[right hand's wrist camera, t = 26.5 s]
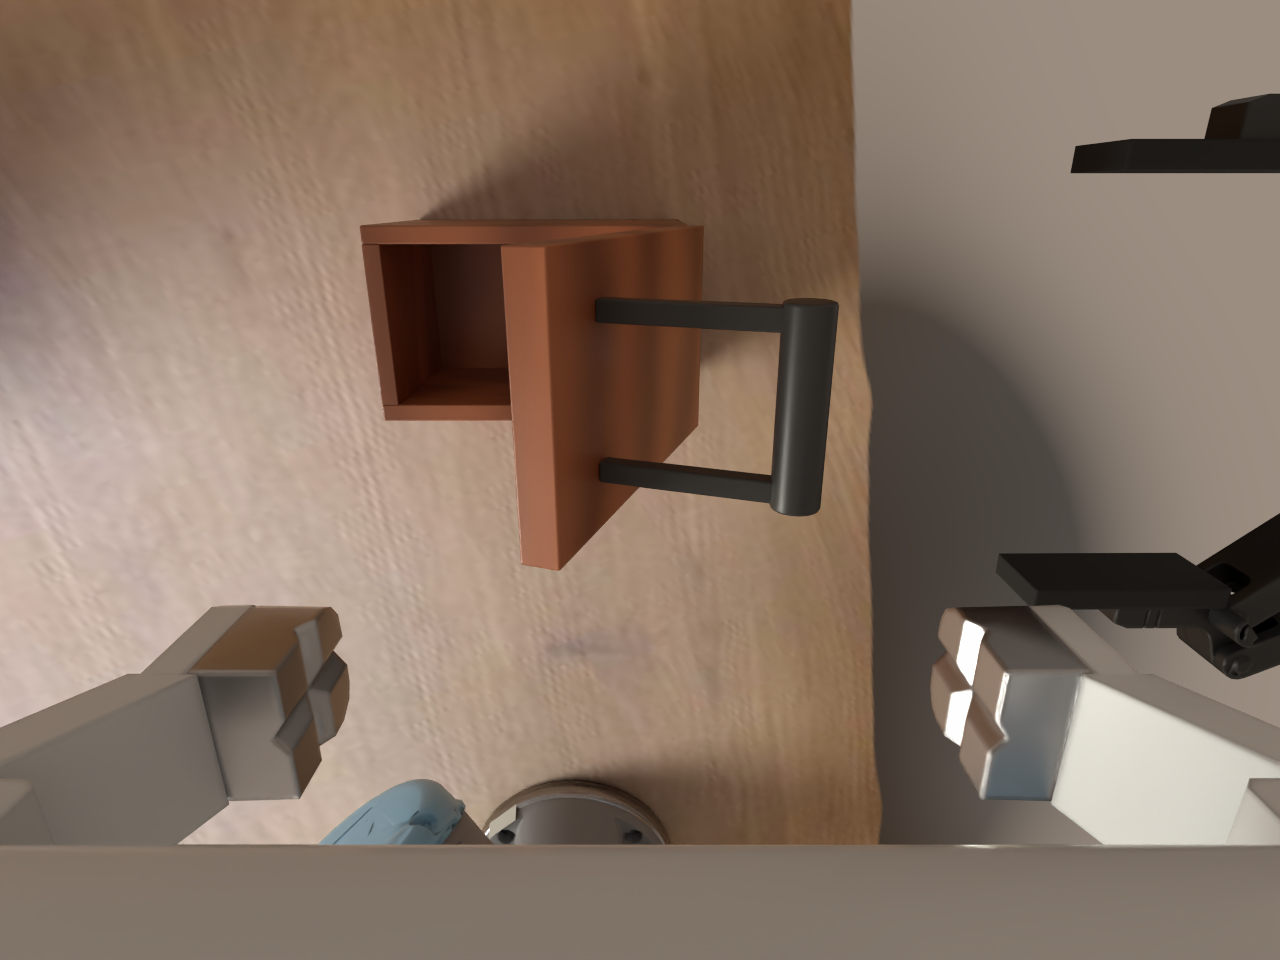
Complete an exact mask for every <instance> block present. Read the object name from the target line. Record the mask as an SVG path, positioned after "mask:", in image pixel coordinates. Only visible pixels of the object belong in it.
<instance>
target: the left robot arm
mask: <svg viewBox="0 0 1280 960" xmlns="http://www.w3.org/2000/svg"><path fill="white" fill-rule="evenodd" d="M1071 173H1280V94H1266V95H1260V96H1254V97H1249V98H1243V99H1237V100H1231V101H1228V102H1226V103H1224V104H1221V105H1219V106H1216V107H1214V108H1212V110H1211V114H1210V118H1209V122H1208V126H1207V130H1206V135H1205V139H1128V140H1120V141H1112V142H1104V143H1097V144H1089V145H1081V146H1076V147H1075V152H1074V158H1073V163H1072V168H1071ZM996 573H997V574H998V575H999V576H1000V577H1001V578H1002V579H1003V580H1004V581H1005V582H1006V583H1007V584H1008V585H1009V586H1010V587H1011V588H1012V589H1013V590H1014V591H1015V592H1016V593H1017V594H1018V595H1019V596H1020V597H1021V598H1022V599H1023V600H1024V601H1025V602H1026V603H1027V604H1028V605H1029V606H1042V605H1061V606H1065V607H1068V608H1070V609H1099V610H1100V611H1101V612H1102V613H1103V614H1104V615H1106V616H1107V617H1108V618H1109V619H1110V620H1111V621H1112V622H1113V623H1115V624H1117V625H1120V626H1123V627H1125V628H1143V627H1144V628H1154V627H1156V628H1177V635H1178V637H1179V638H1180V639H1181V640H1182V641H1183V642H1185V643H1186V644H1187V645H1188V646H1190V647H1191V648H1192V649H1193V650H1194V651H1196V652H1197V653H1198V654H1199V655H1201V656H1202V657H1203V658H1205V659H1206V660H1207V661H1208V662H1209V663H1211V664H1212V665H1213V666H1214V667H1216V668H1217V669H1218V670H1220V671H1221V672H1222V673H1223V674H1225V675H1226V676H1227V677H1229V678H1231V679H1242V678H1245V677H1248V676H1251V675H1253V674H1256V673H1259V672H1261V671H1264V670H1267V669H1269V668H1272V667H1275V666H1277V665H1280V514H1278V515H1276V516H1275V517H1273V518H1271V519H1270V520H1268V521H1267V522H1265V523H1263V524H1262V525H1260V526H1259V527H1257V528H1255V529H1254V530H1252V531H1251V532H1249V533H1248V534H1246V535H1244V536H1243V537H1241V538H1240V539H1238V540H1236V541H1235V542H1233V543H1232V544H1230V545H1228V546H1227V547H1225V548H1224V549H1222V550H1221V551H1219V552H1217V553H1216V554H1214V555H1212V556H1211V557H1209V558H1208V559H1206V560H1205V561H1203V562H1201V563H1200V564H1198V565H1197V566H1196V565H1194V564H1193V563H1191V562H1189V561H1188V560H1186V559H1185V558H1183V557H1182V556H1180V555H1179V554H1177V553H1038V554H999V557H998V563H997V568H996ZM1231 592H1234V594H1232V595H1231V594H1230V593H1231ZM465 807H466V806H465V805H464V803H463V801H461V800H458V799H455V798H454V797H453V796H452V795H451V794H450V793H449V792H448V791H447V790H446V789H445V788H444V787H443V786H442V785H441V784H439V783H437V782H435V781H433V780H428V779H417V780H411V781H407V782H404V783H402V784H399V785H397V786H394V787H392V788H390V789H389V790H387V791H385V792H383V793H382V794H380V795H379V796H377V797H375V798H373V799H372V800H370V801H369V802H367V803H366V804H364V805H363V806H362V807H360V808H359V809H358V810H356V811H355V812H354V813H353V814H351V815H350V816H349V817H348V818H346V819H345V820H344V821H343V822H342V823H341V824H339V825H338V826H337V827H336V828H335V829H334V830H333V831H331V832H330V833H329V834H328V835H327V836H326V837H325V838H324V839H323V840H322V841H321V842H320V843H319V844H318V845H670V843H669V840H668V836H667V834H666V832H665V829H664V827H663V826H662V824H661V822H660V821H659V820H658V818H657V817H656V816H655V815H654V814H653V812H652V811H651V810H650V809H649V808H647V807H646V806H645V805H644V804H643V803H641V802H640V801H639V800H637V799H636V798H634V797H632V796H631V795H629V794H627V793H625V792H623V791H621V790H618V789H615V788H613V787H610V786H606V785H603V784H599V783H593V782H586V781H557V782H550V783H545V784H541V785H537V786H534V787H531V788H529V789H526V790H524V791H522V792H519V793H517V794H516V795H514V796H512V797H511V798H509V799H508V800H506V801H505V802H504V803H502V804H501V805H500V806H499V807H498V808H497V809H496V810H495V811H494V812H493V814H492V815H491V816H490V817H489V819H488V820H487V822H486V824H485V826H484V828H483V830H482V831H481V829H480V828H479V827H478V826H477V825H476V824H475V822H474V821H473V820H472V819H471V818H470V817H469V815H468V814H467V813H466V812H465V811H464V809H465Z"/></svg>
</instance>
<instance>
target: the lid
mask: <svg viewBox="0 0 1280 960" xmlns="http://www.w3.org/2000/svg"><path fill="white" fill-rule="evenodd" d="M703 232H704V227H703V226H668V227H659V228H650V229H641V230H633V231H624V232H615V233H606V234H597V235H589V236H580V237H571V238H562V239H553V240H544V241H536V242H527V243H518V244H509V245H503V246H501V257H502V273H503V288H504V304H505V319H506V335H507V350H508V366H509V381H510V397H511V412H512V428H513V443H514V458H515V474H516V489H517V505H518V520H519V536H520V551H521V564H523V565H528V566H534V567H540V568H546V569H552V570H561V569H562V568H563V567H564V566H565V565H566V563H567V562H568V561H569V560H570V559H571V558H572V557H573V556H574V555H575V554H576V553H577V552H578V551H579V550H580V549H581V548H582V547H583V546H584V545H585V544H586V543H587V541H588V540H589V539H590V538H591V537H592V536H593V535H594V534H595V533H596V532H597V531H598V530H599V529H600V528H601V527H602V526H603V525H604V524H605V523H606V522H607V521H608V519H609V518H610V517H611V516H612V515H613V514H614V513H615V512H616V511H617V510H618V509H619V508H620V507H621V506H622V505H623V504H624V503H625V502H626V501H627V500H628V498H629V497H630V496H631V495H632V494H633V493H634V492H635V491H636V490H637V489H638V488H639V487H643V488H651V489H659V490H667V491H675V492H683V493H691V494H699V495H707V496H715V497H723V498H731V499H739V500H747V501H755V502H763V503H770V506H771V508H772V509H773V510H774V511H776V512H778V513H781V514H784V515H789V516H809V515H813V514H815V513H817V512H818V511H819V509H820V504H821V493H822V482H823V472H824V461H825V450H826V439H827V428H828V417H829V407H830V396H831V385H832V374H833V363H834V352H835V341H836V331H837V320H838V309H839V305H838V302H835V301H833V300H827V299H816V298H797V299H789V300H786V301H784V302H783V304H763V303H740V302H716V301H702V268H703ZM701 329H719V330H738V331H756V332H775V333H781V336H780V351H779V366H778V381H777V397H776V412H775V427H774V442H773V457H772V473H771V475H764V474H755V473H746V472H737V471H728V470H719V469H711V468H702V467H693V466H684V465H675V464H666V463H663V462H664V461H665V460H666V459H667V458H668V457H669V456H670V454H671V453H672V452H673V451H674V450H675V449H676V448H677V447H678V446H679V445H680V444H681V443H682V442H683V441H684V440H685V439H686V438H687V437H688V436H689V435H690V433H691V432H692V431H693V430H694V429H695V428H696V427H697V426H698V412H699V376H700V340H701Z"/></svg>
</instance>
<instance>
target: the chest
mask: <svg viewBox="0 0 1280 960" xmlns="http://www.w3.org/2000/svg"><path fill="white" fill-rule="evenodd" d="M668 226H688V225H686V224H684V223H682V222H681V221H679V220H413V221H402V222H392V223H381V224H371V225H361V226H360V232H361V240H362V250H363V258H364V266H365V274H366V282H367V290H368V297H369V305H370V313H371V321H372V329H373V336H374V344H375V352H376V360H377V368H378V375H379V383H380V391H381V399H382V405H383V413H384V420H386V421H462V420H512V412H511V397H510V381H509V366H508V350H507V335H506V319H505V304H504V288H503V273H502V257H501V246H503V245H509V244H518V243H527V242H536V241H544V240H553V239H562V238H571V237H580V236H589V235H597V234H606V233H615V232H624V231H633V230H641V229H650V228H659V227H668Z"/></svg>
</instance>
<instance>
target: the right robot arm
mask: <svg viewBox="0 0 1280 960" xmlns="http://www.w3.org/2000/svg"><path fill="white" fill-rule="evenodd" d="M341 638H342V632H341V627H340V622H339V617H338V614H337V613H336V612H335V611H334V610H333V609H332V608H331V607H300V606H254V605H231V606H217V607H211V608H210V609H209V610H208V611H207V612H206V613H205V614H204V615H203V616H202V617H201V618H200V619H199V620H197V621H196V622H195V623H194V624H193V625H192V626H191V627H190V628H189V629H188V630H187V631H186V632H185V633H184V634H183V635H181V636H180V637H179V638H178V639H177V640H176V641H175V642H174V643H173V644H172V645H171V646H170V647H169V648H168V649H167V650H165V651H164V652H163V653H162V654H161V655H160V656H159V657H158V658H157V659H156V660H155V661H154V662H153V663H152V664H151V665H149V666H148V667H147V668H146V669H145V670H144V671H143V672H142V673H141V674H127V675H124V676H122V677H119V678H117V679H115V680H112V681H110V682H108V683H105V684H103V685H101V686H98V687H96V688H93V689H91V690H89V691H86V692H84V693H82V694H79V695H77V696H74V697H72V698H70V699H67V700H65V701H63V702H60V703H58V704H56V705H53V706H51V707H48V708H46V709H44V710H41V711H39V712H37V713H34V714H32V715H29V716H27V717H25V718H22V719H20V720H18V721H15V722H13V723H10V724H8V725H6V726H3V727H1V728H0V960H1280V728H1279V727H1276V726H1274V725H1272V724H1269V723H1267V722H1264V721H1262V720H1260V719H1257V718H1255V717H1253V716H1250V715H1248V714H1246V713H1243V712H1241V711H1238V710H1236V709H1234V708H1231V707H1229V706H1227V705H1224V704H1222V703H1220V702H1217V701H1215V700H1212V699H1210V698H1208V697H1205V696H1203V695H1201V694H1198V693H1196V692H1194V691H1191V690H1189V689H1186V688H1184V687H1182V686H1179V685H1177V684H1175V683H1172V682H1170V681H1168V680H1165V679H1163V678H1161V677H1158V676H1156V675H1153V674H1139V673H1138V672H1137V671H1136V670H1135V669H1134V668H1133V667H1132V666H1131V665H1130V664H1128V663H1127V662H1126V661H1125V660H1124V659H1123V658H1122V657H1121V656H1120V655H1119V654H1118V653H1117V652H1116V651H1115V650H1114V649H1113V648H1111V647H1110V646H1109V645H1108V644H1107V643H1106V642H1105V641H1104V640H1103V639H1102V638H1101V637H1100V636H1099V635H1098V634H1097V633H1095V632H1094V631H1093V630H1092V629H1091V628H1090V627H1089V626H1088V625H1087V624H1086V623H1085V622H1084V621H1083V620H1082V619H1081V618H1080V617H1078V616H1077V615H1076V614H1075V613H1074V612H1073V611H1072V610H1071V609H1070V608H1068V607H1065V606H1061V605H1042V606H1003V607H961V608H948V609H945V611H944V614H943V616H942V618H941V620H940V626H939V631H938V638H939V639H940V641H941V642H942V644H943V645H944V647H945V648H946V650H947V651H946V652H945V653H944V654H943V655H942V656H941V657H940V658H939V659H938V660H937V661H936V662H935V663H934V664H933V668H932V676H931V684H930V690H931V700H932V708H933V711H934V715H935V718H936V721H937V723H938V725H939V727H940V729H941V730H942V732H943V734H944V736H946V737H947V738H949V739H950V740H952V741H953V742H955V743H957V744H958V745H960V746H961V747H960V753H959V759H958V761H959V762H960V764H961V766H962V768H963V769H964V771H965V773H966V775H967V776H968V778H969V780H970V781H971V783H972V785H973V787H974V788H975V790H976V792H977V793H978V795H979V797H980V799H996V800H1033V801H1051V805H1053V806H1054V807H1055V808H1057V809H1058V810H1059V811H1061V812H1062V813H1063V814H1064V815H1066V816H1067V817H1069V818H1070V819H1071V820H1072V821H1074V822H1075V823H1076V824H1078V825H1079V826H1080V827H1082V828H1083V829H1084V830H1085V831H1087V832H1088V833H1089V834H1091V835H1092V836H1093V837H1095V838H1096V839H1097V840H1098V841H1100V842H1101V843H1103V844H1104V845H177V844H178V843H179V842H180V841H182V840H183V839H184V838H186V837H187V836H188V835H190V834H191V833H192V832H194V831H195V830H196V829H198V828H199V827H200V826H201V825H203V824H204V823H205V822H207V821H208V820H209V819H211V818H212V817H213V816H215V815H216V814H217V813H218V812H220V811H221V810H222V809H224V808H225V807H226V806H228V805H229V802H228V801H247V800H282V799H300V797H301V795H302V794H303V792H304V790H305V788H306V787H307V785H308V783H309V782H310V780H311V778H312V776H313V775H314V773H315V771H316V769H317V768H318V766H319V764H320V762H321V761H322V758H321V753H320V747H319V746H320V745H322V744H323V743H325V742H327V741H328V740H330V739H331V738H333V737H334V736H336V734H337V732H338V730H339V729H340V727H341V725H342V723H343V721H344V718H345V714H346V710H347V706H348V702H349V674H348V668H347V664H346V663H345V662H344V661H343V660H342V659H341V658H340V657H339V656H338V655H337V654H336V653H335V652H334V651H333V650H334V648H335V647H336V645H337V644H338V642H339V641H340V639H341Z"/></svg>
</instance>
